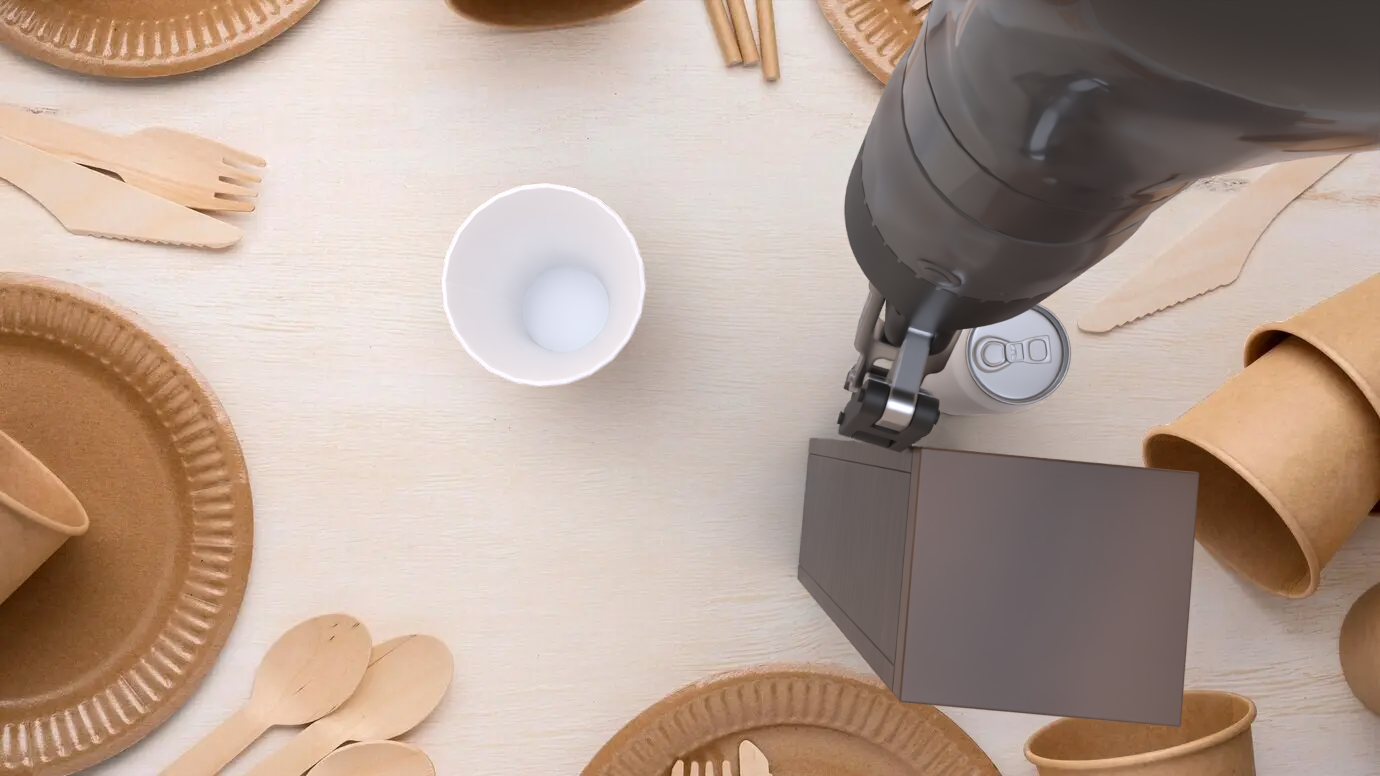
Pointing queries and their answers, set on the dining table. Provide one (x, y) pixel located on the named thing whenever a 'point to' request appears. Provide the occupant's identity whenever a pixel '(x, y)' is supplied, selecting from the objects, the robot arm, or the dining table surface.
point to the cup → (543, 284)
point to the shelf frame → (857, 542)
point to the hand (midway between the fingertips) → (895, 294)
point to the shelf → (1046, 586)
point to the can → (1004, 366)
